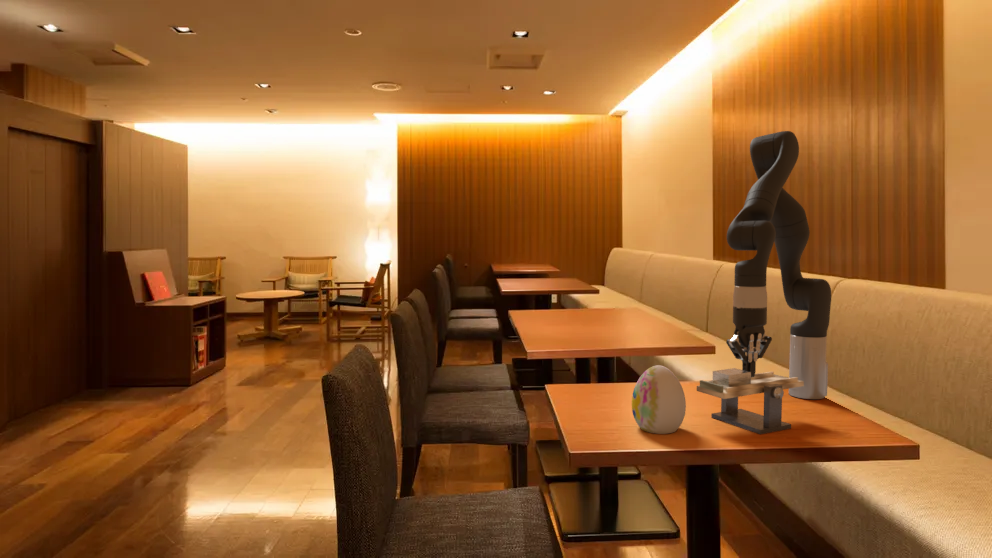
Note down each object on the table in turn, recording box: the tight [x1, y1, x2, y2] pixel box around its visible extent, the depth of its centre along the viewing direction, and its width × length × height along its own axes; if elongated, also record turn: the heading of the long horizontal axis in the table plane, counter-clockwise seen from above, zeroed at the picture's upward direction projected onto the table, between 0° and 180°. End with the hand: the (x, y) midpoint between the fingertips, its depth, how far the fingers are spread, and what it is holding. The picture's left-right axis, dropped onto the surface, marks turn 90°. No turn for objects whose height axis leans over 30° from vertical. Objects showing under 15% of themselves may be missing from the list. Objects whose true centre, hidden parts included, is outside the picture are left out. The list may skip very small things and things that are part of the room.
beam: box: [696, 371, 804, 399], centre depth 151 cm, size 26×11×3 cm, turn 115°
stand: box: [711, 384, 792, 435], centre depth 151 cm, size 10×17×10 cm, turn 25°
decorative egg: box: [631, 364, 687, 435], centre depth 147 cm, size 12×12×15 cm
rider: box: [712, 367, 751, 389], centre depth 148 cm, size 7×5×4 cm
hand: (748, 376), depth 150 cm, fingers closed
